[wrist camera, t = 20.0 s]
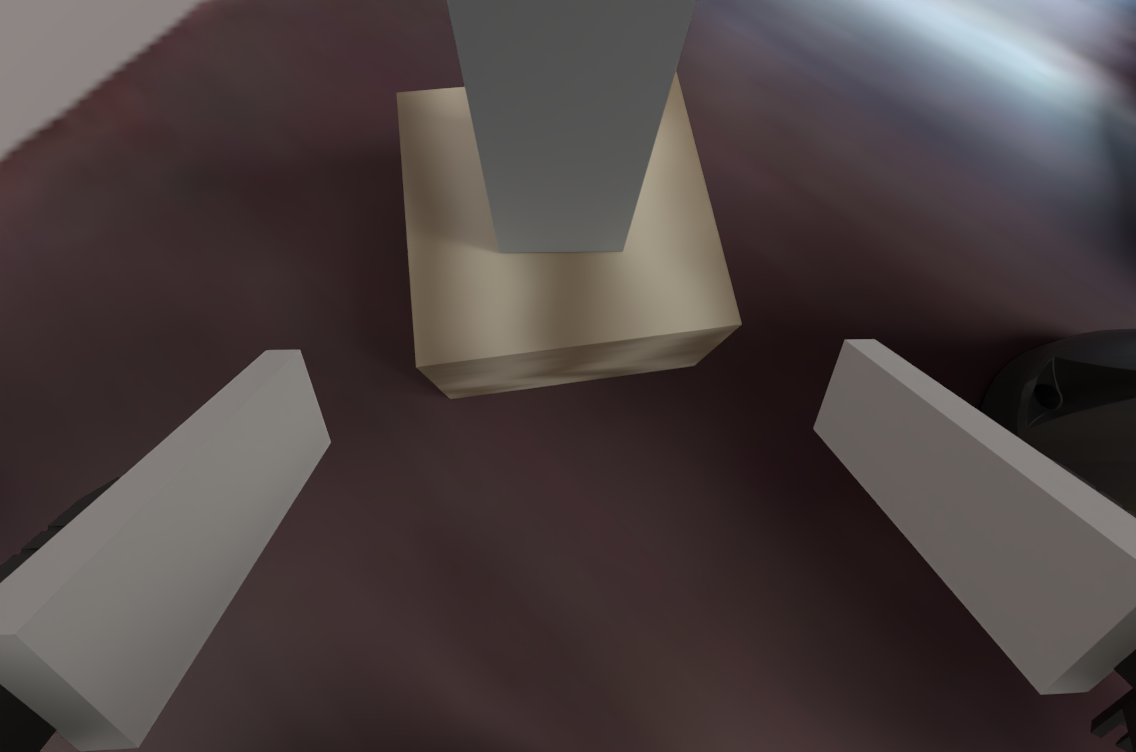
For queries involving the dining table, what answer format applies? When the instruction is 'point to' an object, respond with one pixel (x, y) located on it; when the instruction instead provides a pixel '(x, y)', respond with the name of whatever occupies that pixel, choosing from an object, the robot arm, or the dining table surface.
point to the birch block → (554, 268)
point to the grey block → (566, 111)
